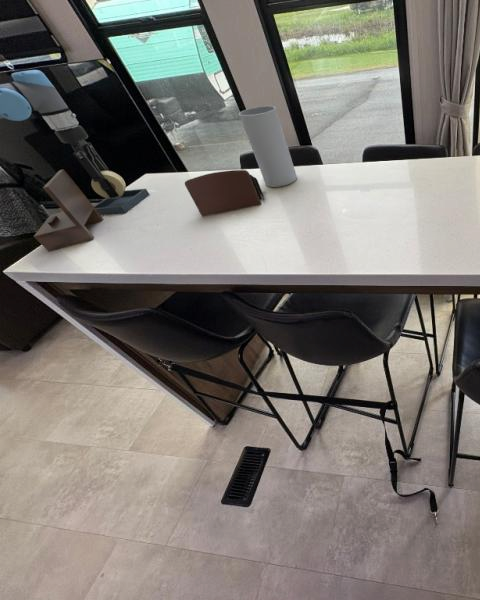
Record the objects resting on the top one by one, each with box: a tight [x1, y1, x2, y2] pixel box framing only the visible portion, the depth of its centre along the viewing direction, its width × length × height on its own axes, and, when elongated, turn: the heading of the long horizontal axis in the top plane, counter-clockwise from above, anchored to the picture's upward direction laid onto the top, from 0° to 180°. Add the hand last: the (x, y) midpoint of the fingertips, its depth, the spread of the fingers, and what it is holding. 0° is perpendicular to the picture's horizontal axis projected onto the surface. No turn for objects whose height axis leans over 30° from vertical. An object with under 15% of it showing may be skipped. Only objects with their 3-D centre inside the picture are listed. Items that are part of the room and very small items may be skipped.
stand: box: [33, 169, 105, 252], centre depth 100 cm, size 12×16×19 cm
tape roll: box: [91, 170, 127, 199], centre depth 119 cm, size 9×5×9 cm, turn 116°
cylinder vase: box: [238, 105, 298, 188], centre depth 119 cm, size 12×12×25 cm
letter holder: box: [184, 169, 265, 217], centre depth 108 cm, size 10×20×14 cm, turn 106°
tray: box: [93, 188, 150, 216], centre depth 124 cm, size 16×13×2 cm
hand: (115, 194), depth 122 cm, fingers closed on tape roll, 5 cm apart
